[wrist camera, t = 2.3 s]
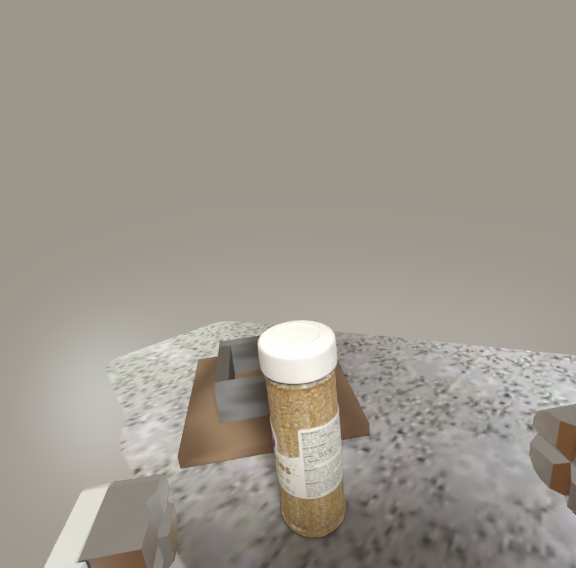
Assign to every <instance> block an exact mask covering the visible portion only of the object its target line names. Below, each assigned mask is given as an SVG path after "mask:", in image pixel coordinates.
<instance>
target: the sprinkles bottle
mask: <svg viewBox="0 0 576 568" xmlns="http://www.w3.org/2000/svg"><path fill="white" fill-rule="evenodd" d="M257 345H258V355H259V362H260V368H261V371H262V372H263V374H264V377H265V379H266V381H265V382H266V387H267V395H268V403H269V409H270V424H271V431H272V438H273V446H274V454H275V462H276V470H277V476H278V480H279V485H280V492H281V514H282V517H283V519H284V521H285V523H286V524H287V525H288V527H289V528H290V529H292V530H293V531H294V532H295V533H296V534H300V535H302V536H305V537H322V536H325V535H327V534H329V533H331V532H333V531H334V530H335V529H336V528H338V527H339V526H340V524H341V523H342V521H343V520H344V516H345V513H346V501H345V497H344V495H343V482H342V476H343V464H342V447H341V432H340V417H339V405H338V401H337V391H336V376H335V368H336V364H337V347H336V338H335V334H334V332H333V331H332V329H330V328H329V327H328V326H326V325H324V324H322V323H319V322H314V321H306V320H298V321H290V322H284V323H281V324H278V325H275V326H273V327H271V328H269V329H267V330H266V331H265V332H263V333H262V335H261V336H260V337H259V340H258V344H257Z"/></svg>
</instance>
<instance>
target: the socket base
mask: <svg viewBox="0 0 576 568" xmlns="http://www.w3.org/2000/svg"><path fill="white" fill-rule="evenodd" d="M259 337H260V336H256V337H249V338H242V339H236V340H229V341H222V342H220V344H219V353H218V357H212V358H205V359H199V360H198V365H197V369H196V374H195V379H194V383H193V388H192V393H191V397H190V402H189V407H188V411H187V416H186V421H185V425H184V430H183V435H182V439H181V444H180V449H179V453H178V460H179V464H180V468H186V467H192V466H197V465H203V464H209V463H214V462H220V461H226V460H231V459H237V458H243V457H248V456H254V455H259V454H265V453H271V452H274V446H273V438H272V431H271V424H270V409H269V403H268V395H267V387H266V382H265V381H266V379H265V377H264V374H263V372H262V371H261V368H260V362H259V355H258V345H257V344H258V340H259ZM335 376H336V391H337V401H338V405H339V417H340V432H341V440H344V439H350V438H355V437H361V436H367V435H369V422H368V420H367V418H366V417H365V415H364V413H363V411H362V409H361V407H360V405H359V403H358V401H357V399H356V397H355V395H354V393H353V391H352V389H351V387H350V385H349V383H348V381H347V379H346V377H345V375H344V373H343V371H342V369H341V367H340V365H339V363H338V361H337V364H336V368H335Z"/></svg>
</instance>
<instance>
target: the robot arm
mask: <svg viewBox="0 0 576 568" xmlns="http://www.w3.org/2000/svg"><path fill="white" fill-rule="evenodd" d="M533 428H534V429H535V430H536V432H537V433H538V434H537V435H536V436H535V437H534V439H533V440H532V441H531V443H530V453H529V456H530V459H531V462H532V465H533V468H534V470H535V471H536V473H537V474H538V476H539V477H540V479H541V480H542V481H543V482H544V483H545V484H546V485H547V486H548V487H549V488H550V489H552V490H554V491H556V492H558V493H560V494H562V495H564V496H565V498H566V503H567V507H568V508H569V509H570V510H571V511H572V512H573V513H574V514H575V515H576V404H574V405H568V406H563V407H557V408H552V409H546V410H540V411H538V412H537V413H536V415H535V416H534V419H533ZM169 492H170V487H169V484H168V480H167V477H166V476H165V475H157V476H150V477H143V478H136V479H129V480H122V481H115V482H113V483H106V484H99V485H91V486H87V487H86V488H85V489H84V490H83V491H82V492H81V494H80V495H79V497H78V500H77V502H76V503H75V505H74V507H73V509H72V511H71V513H70V515H69V517H68V519H67V521H66V524H65V526H64V527H63V529H62V531H61V533H60V535H59V537H58V539H57V541H56V543H55V545H54V547H53V549H52V551H51V553H50V555H49V558H48V559H47V562H46V564H45V565H44V567H43V568H169V567H170V565H171V564H172V563H173V561H174V560H175V555H176V548H177V529H178V527H177V518H176V512H175V508H174V506H173V505H172V504H171V503H169V502H168V496H169Z"/></svg>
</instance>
